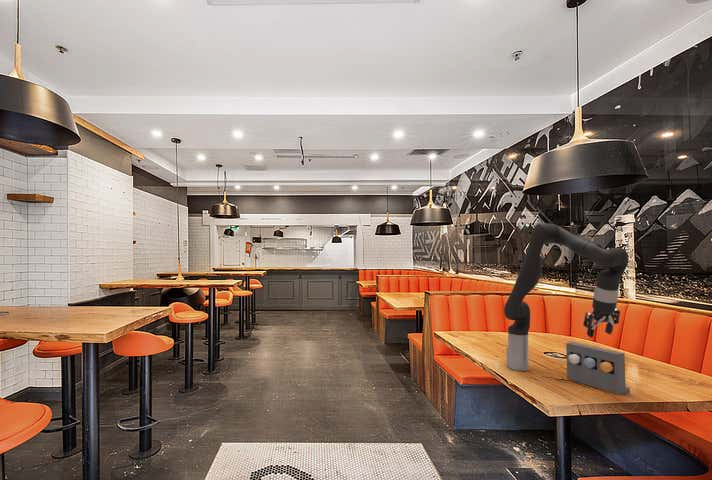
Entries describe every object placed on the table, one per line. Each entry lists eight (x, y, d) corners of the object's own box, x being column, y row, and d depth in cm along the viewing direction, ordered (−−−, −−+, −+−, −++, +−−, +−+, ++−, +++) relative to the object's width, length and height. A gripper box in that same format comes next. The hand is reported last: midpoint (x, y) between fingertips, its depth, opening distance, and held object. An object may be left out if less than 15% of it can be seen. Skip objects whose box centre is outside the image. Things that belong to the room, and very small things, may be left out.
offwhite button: (568, 362, 155) (568, 353, 156) (572, 361, 157) (572, 352, 157) (577, 364, 152) (577, 355, 152) (581, 364, 153) (581, 354, 153)
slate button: (583, 366, 150) (583, 357, 150) (587, 365, 151) (587, 356, 151) (593, 369, 146) (593, 359, 146) (597, 368, 147) (597, 358, 148)
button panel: (567, 378, 157) (566, 343, 158) (577, 376, 161) (576, 341, 162) (619, 394, 139) (617, 354, 140) (629, 391, 142) (628, 352, 143)
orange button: (599, 370, 144) (599, 361, 144) (603, 369, 145) (603, 360, 145) (610, 373, 140) (610, 363, 140) (614, 372, 142) (614, 362, 142)
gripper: (611, 291, 139) (605, 327, 143) (581, 296, 136) (576, 332, 140) (629, 299, 132) (622, 337, 136) (598, 304, 129) (592, 342, 133)
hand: (599, 334), depth 138 cm, fingers open, 8 cm apart
